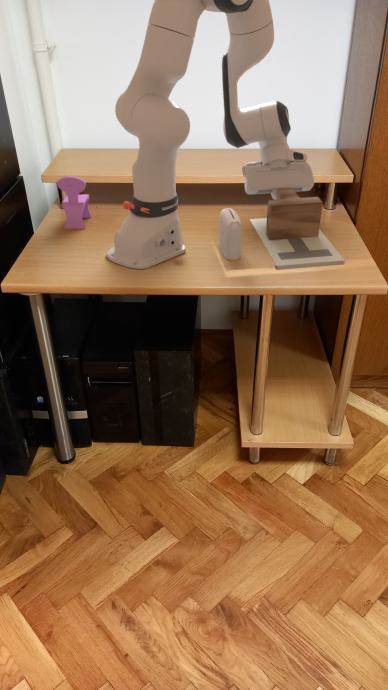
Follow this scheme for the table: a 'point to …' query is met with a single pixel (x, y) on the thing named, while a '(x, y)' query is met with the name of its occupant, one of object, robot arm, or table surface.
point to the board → (298, 250)
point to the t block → (293, 216)
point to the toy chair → (74, 201)
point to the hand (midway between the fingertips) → (282, 205)
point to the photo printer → (230, 234)
